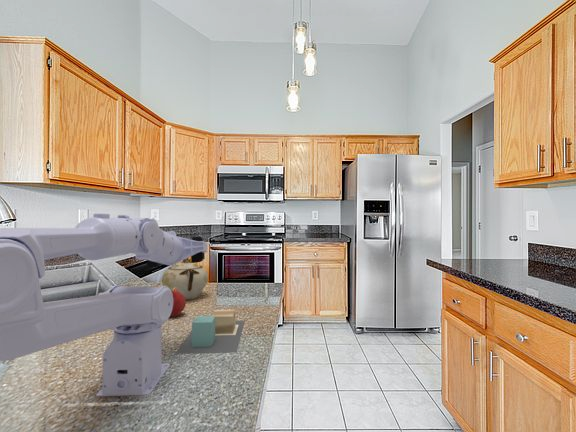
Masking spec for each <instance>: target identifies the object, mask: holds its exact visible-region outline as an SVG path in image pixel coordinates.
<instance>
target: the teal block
mask: <svg viewBox="0 0 576 432" xmlns="http://www.w3.org/2000/svg"><path fill="white" fill-rule="evenodd" d="M191 330H192V347H208V346H212V344H213V342H214V340H215V316H211V315H199V316H198V315H197V316H196V317H195V318H194V319H193V321H191Z"/></svg>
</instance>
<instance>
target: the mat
mask: <svg viewBox="0 0 576 432" xmlns="http://www.w3.org/2000/svg"><path fill="white" fill-rule="evenodd" d="M245 322H246V321H245V320H235V329H234V332H233V334H215V340H214V342H213V344H212V346H208V347H192V329H191V330H190V332H189V333H188V335H187V336H186V338H185V339H184V340H183V342H182V343H181V344H180V346H179V348H178V349H177V350H176V352H175V354H174V355H180V354H181V355H182V354H183V355H184V354H185V355H188V354H190V355H191V354H222V353H223V354H224V353H225V354H227V353H230V354H231V353H237V352H238V349H239V345H240V341H241V337H242V334H243V333H242V332H243V330H244V325H245Z"/></svg>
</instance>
